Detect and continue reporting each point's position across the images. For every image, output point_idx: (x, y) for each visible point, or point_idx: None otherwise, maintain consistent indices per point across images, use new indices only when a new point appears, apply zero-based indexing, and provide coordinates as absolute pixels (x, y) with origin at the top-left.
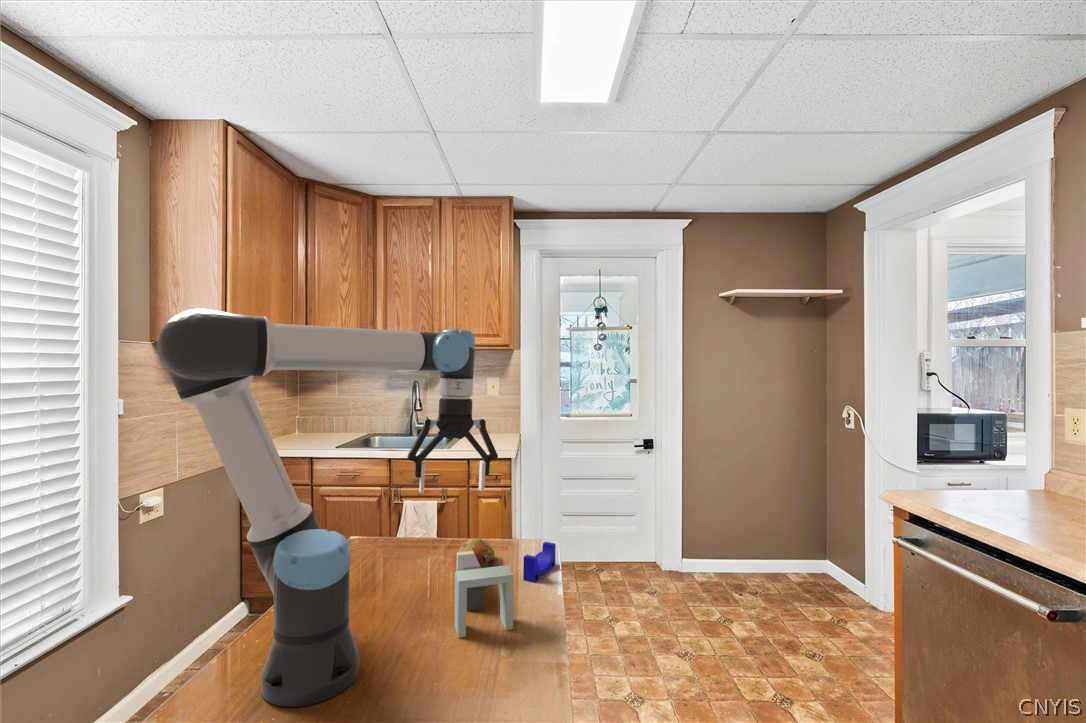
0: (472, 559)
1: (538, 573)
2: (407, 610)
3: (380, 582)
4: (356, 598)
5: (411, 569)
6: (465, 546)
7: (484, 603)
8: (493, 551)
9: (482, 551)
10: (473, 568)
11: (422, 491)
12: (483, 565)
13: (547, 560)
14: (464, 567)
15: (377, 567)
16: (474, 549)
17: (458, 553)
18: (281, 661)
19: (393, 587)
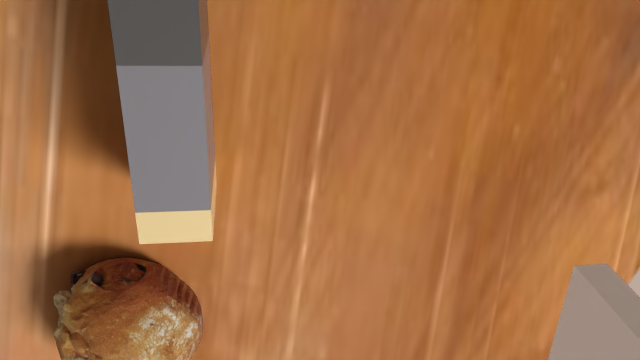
0: (148, 151)
1: None
2: (408, 6)
3: (454, 229)
4: (538, 140)
5: (351, 297)
6: (164, 344)
7: None
8: (54, 332)
9: (98, 306)
10: (151, 46)
11: (599, 278)
12: (105, 263)
13: None
14: (194, 70)
15: (445, 327)
16: (130, 317)
17: (205, 228)
18: None
19: (423, 187)
